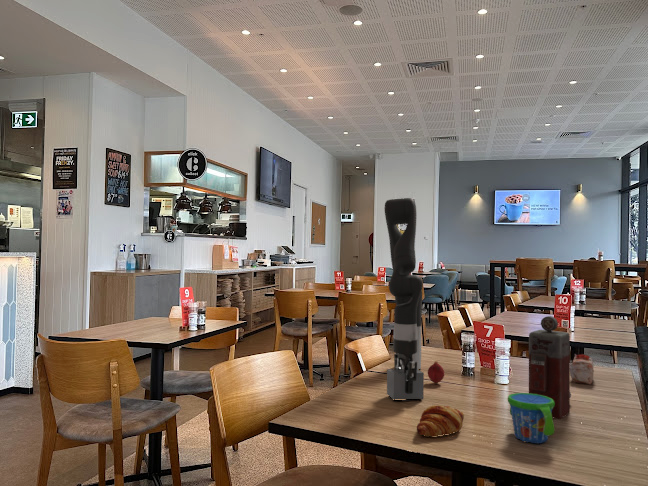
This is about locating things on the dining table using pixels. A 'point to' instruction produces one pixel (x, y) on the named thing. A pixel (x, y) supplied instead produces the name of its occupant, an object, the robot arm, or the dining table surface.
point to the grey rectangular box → (398, 385)
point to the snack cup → (531, 416)
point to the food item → (582, 369)
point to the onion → (435, 372)
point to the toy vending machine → (550, 365)
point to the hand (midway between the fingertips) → (404, 390)
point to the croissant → (440, 421)
